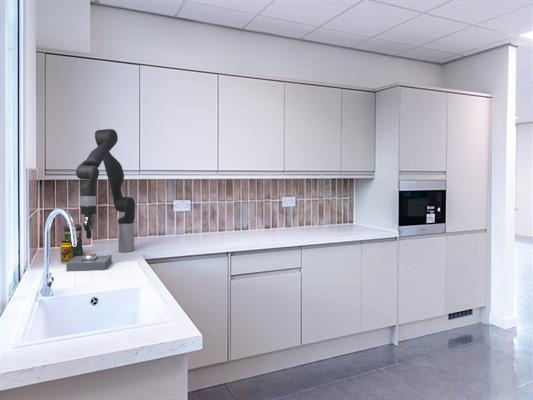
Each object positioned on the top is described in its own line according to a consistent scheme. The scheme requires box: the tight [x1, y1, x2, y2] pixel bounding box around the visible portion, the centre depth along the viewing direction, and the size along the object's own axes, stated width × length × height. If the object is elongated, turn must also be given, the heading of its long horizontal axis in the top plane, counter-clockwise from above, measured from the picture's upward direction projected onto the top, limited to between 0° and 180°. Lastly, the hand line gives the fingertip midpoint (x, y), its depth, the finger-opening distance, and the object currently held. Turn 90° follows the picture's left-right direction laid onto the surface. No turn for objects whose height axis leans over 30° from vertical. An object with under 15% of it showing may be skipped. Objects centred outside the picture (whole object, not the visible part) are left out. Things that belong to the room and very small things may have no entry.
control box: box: [65, 254, 112, 272], centre depth 205 cm, size 16×18×4 cm
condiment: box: [58, 239, 73, 264], centre depth 215 cm, size 7×8×12 cm
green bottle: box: [63, 223, 84, 258], centre depth 227 cm, size 10×8×19 cm
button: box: [83, 252, 97, 261], centre depth 205 cm, size 6×6×4 cm
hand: (89, 238), depth 204 cm, fingers closed
